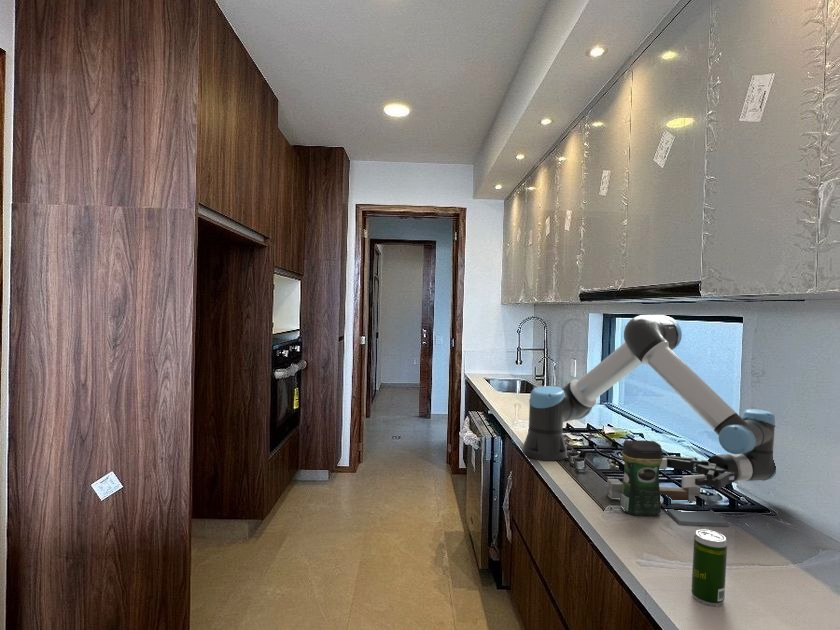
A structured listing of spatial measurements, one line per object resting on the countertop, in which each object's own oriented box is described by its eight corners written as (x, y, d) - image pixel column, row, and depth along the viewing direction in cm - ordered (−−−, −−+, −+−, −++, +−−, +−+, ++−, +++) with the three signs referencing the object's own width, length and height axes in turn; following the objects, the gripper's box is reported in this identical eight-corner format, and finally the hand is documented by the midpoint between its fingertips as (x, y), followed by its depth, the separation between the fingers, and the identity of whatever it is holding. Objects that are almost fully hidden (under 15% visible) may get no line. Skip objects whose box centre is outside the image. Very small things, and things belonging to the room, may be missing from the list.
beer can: (728, 599, 99) (731, 536, 99) (717, 610, 96) (721, 544, 95) (697, 587, 103) (700, 526, 103) (686, 597, 99) (689, 534, 99)
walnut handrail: (606, 494, 151) (607, 478, 151) (692, 498, 151) (693, 482, 151) (611, 499, 147) (612, 483, 147) (699, 503, 147) (700, 487, 147)
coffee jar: (651, 505, 144) (654, 437, 143) (664, 517, 136) (668, 445, 136) (615, 504, 144) (618, 436, 144) (626, 516, 136) (630, 444, 136)
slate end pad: (657, 503, 146) (657, 501, 145) (702, 505, 145) (702, 502, 145) (679, 524, 133) (679, 521, 132) (728, 526, 132) (728, 523, 132)
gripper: (768, 498, 135) (699, 505, 129) (693, 467, 159) (632, 471, 153) (770, 469, 135) (701, 474, 129) (694, 442, 159) (633, 445, 153)
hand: (663, 472), depth 141 cm, fingers open, 13 cm apart
